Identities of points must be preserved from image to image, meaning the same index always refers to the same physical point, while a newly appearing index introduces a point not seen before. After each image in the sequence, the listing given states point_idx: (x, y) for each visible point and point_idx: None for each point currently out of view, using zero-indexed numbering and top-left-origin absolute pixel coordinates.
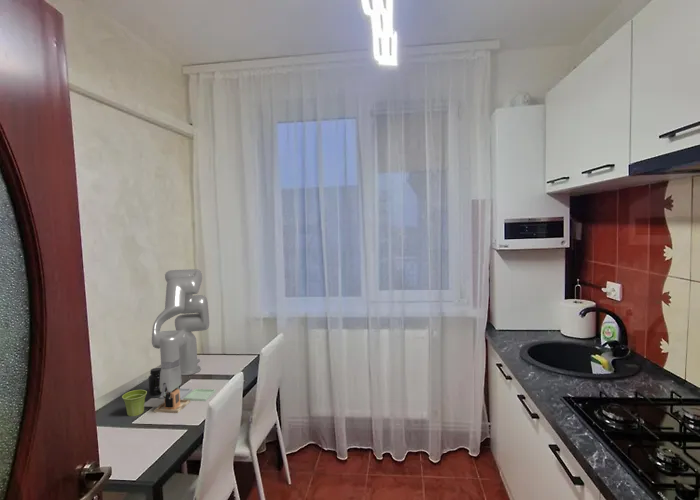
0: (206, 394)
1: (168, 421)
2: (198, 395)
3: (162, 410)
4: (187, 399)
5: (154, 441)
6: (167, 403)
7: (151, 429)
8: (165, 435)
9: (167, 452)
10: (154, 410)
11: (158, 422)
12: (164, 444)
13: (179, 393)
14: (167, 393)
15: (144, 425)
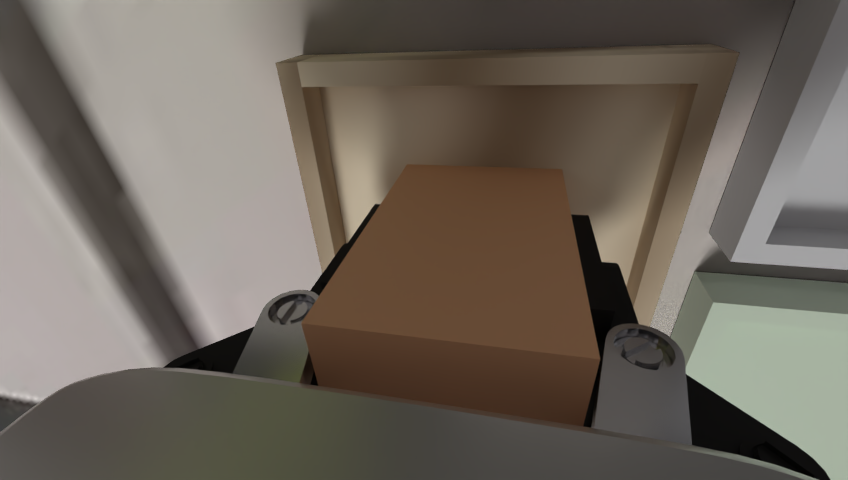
0: (845, 463)
1: (223, 303)
2: (846, 400)
3: (306, 195)
4: (688, 339)
5: (14, 323)
6: None
7: (71, 235)
8: (90, 353)
9: (18, 407)
10: (282, 67)
11: (172, 232)
12: (39, 378)
13: None
14: (322, 385)
15: (65, 129)
